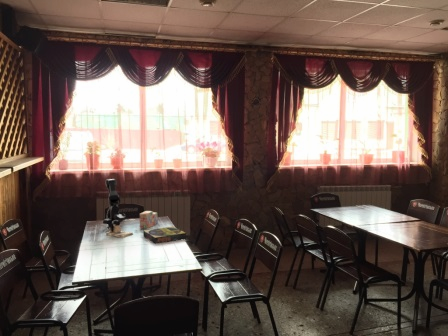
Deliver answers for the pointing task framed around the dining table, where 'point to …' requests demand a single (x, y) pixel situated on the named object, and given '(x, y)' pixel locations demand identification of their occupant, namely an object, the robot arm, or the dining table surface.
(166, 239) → the board game box
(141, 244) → the dining table surface
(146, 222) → the stack of blocks
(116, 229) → the block
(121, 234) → the board
